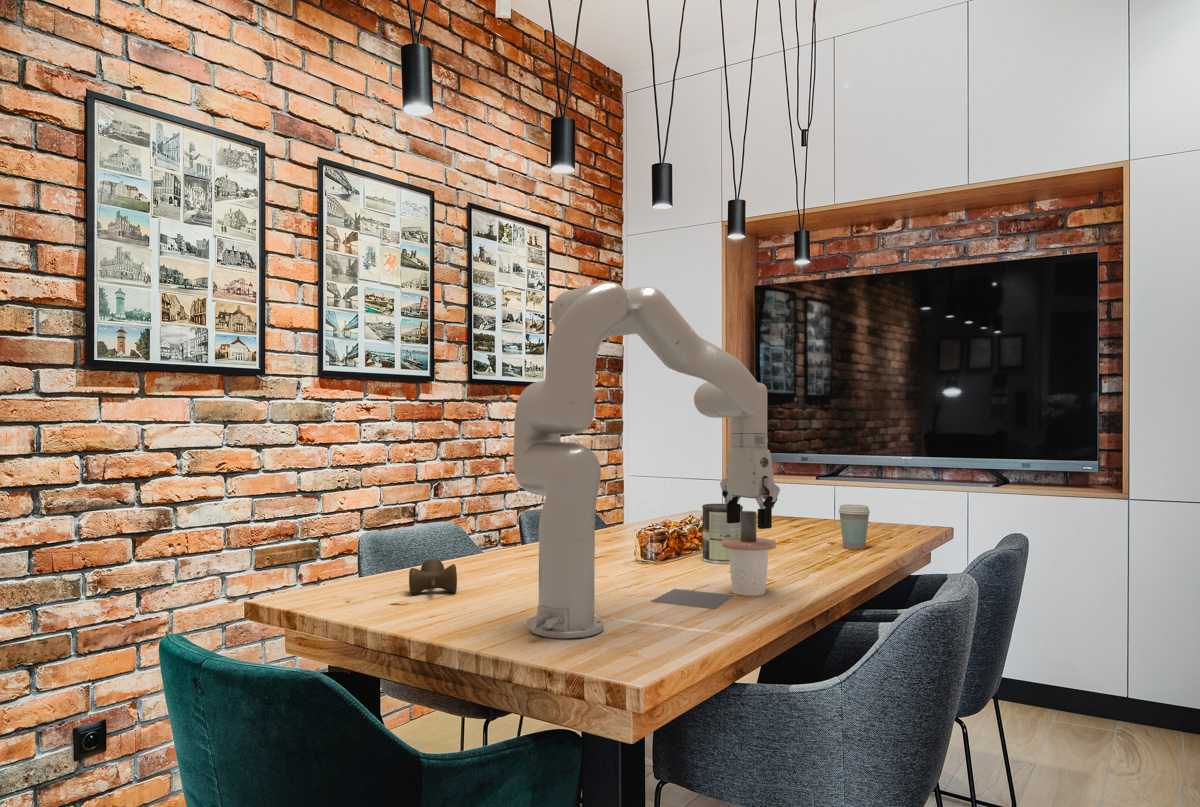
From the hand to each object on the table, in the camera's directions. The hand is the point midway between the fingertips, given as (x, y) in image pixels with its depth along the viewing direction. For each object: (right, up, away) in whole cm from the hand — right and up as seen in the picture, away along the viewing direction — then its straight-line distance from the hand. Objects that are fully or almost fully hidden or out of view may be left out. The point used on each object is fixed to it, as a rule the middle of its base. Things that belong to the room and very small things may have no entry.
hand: (748, 525), depth 160 cm
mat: (-12, -14, -7) cm, 20 cm away
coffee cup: (+42, -16, +60) cm, 75 cm away
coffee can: (+1, -15, +39) cm, 42 cm away
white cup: (0, -14, 0) cm, 14 cm away
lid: (0, -4, 0) cm, 4 cm away
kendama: (-66, -14, +3) cm, 67 cm away
